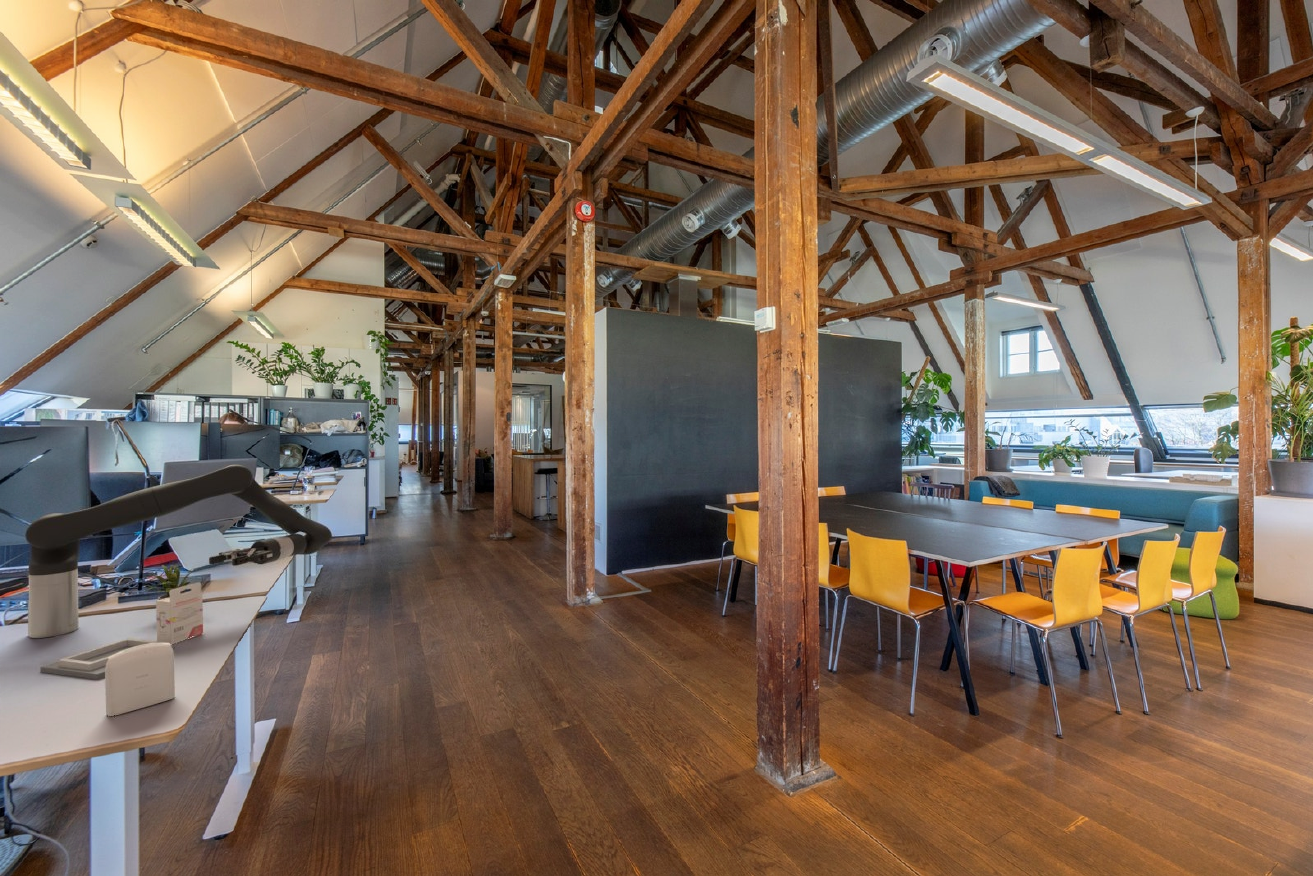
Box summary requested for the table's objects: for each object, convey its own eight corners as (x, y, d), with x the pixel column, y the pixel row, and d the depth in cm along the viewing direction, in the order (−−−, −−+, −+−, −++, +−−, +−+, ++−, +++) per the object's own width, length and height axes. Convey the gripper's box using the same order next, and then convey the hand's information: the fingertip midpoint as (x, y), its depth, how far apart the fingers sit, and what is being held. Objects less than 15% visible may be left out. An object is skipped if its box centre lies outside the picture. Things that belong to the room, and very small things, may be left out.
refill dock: (40, 671, 126) (40, 660, 126) (121, 645, 142) (121, 635, 142) (97, 679, 122) (97, 667, 122) (174, 651, 138) (174, 641, 138)
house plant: (127, 620, 162) (126, 565, 161) (182, 606, 174) (181, 556, 174) (154, 626, 156) (154, 570, 156) (209, 611, 169) (208, 559, 169)
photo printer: (106, 720, 105) (106, 656, 105) (104, 712, 108) (103, 650, 107) (176, 700, 113) (176, 641, 113) (172, 693, 115) (172, 636, 115)
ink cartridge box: (189, 632, 151) (188, 580, 151) (203, 634, 150) (203, 581, 150) (155, 644, 143) (154, 589, 142) (170, 646, 142) (169, 590, 141)
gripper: (254, 537, 174) (202, 548, 159) (290, 538, 171) (240, 549, 155) (254, 560, 174) (202, 573, 159) (291, 562, 171) (241, 575, 155)
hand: (221, 561), depth 157 cm, fingers open, 8 cm apart
